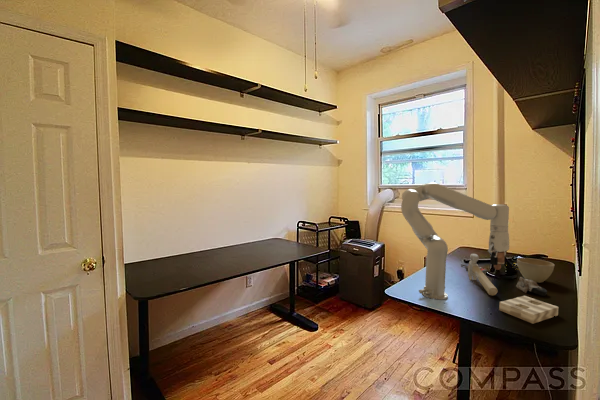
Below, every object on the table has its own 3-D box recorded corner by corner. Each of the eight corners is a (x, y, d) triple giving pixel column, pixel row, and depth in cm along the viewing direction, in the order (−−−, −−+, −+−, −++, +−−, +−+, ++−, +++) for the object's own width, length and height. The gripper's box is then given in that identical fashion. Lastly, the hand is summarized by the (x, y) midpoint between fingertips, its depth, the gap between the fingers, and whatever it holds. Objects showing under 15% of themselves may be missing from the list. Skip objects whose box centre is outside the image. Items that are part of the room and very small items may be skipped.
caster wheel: (547, 300, 155) (532, 298, 153) (529, 288, 165) (515, 286, 164) (552, 289, 153) (537, 287, 151) (534, 278, 164) (519, 276, 162)
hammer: (500, 279, 150) (477, 253, 178) (490, 279, 151) (469, 253, 179) (495, 305, 155) (473, 275, 183) (485, 304, 155) (465, 275, 184)
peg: (499, 271, 141) (500, 253, 141) (488, 268, 146) (489, 251, 146) (506, 269, 144) (507, 252, 143) (495, 267, 149) (495, 250, 148)
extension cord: (527, 267, 208) (527, 264, 208) (522, 271, 198) (523, 268, 197) (507, 263, 217) (507, 261, 217) (502, 267, 207) (502, 264, 207)
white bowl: (549, 287, 166) (551, 267, 165) (512, 279, 180) (513, 260, 179) (555, 281, 177) (557, 262, 176) (520, 273, 191) (521, 256, 190)
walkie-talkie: (491, 274, 191) (461, 266, 208) (491, 267, 191) (461, 260, 208) (484, 276, 187) (454, 268, 204) (485, 269, 186) (455, 262, 203)
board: (532, 323, 123) (533, 314, 123) (499, 310, 136) (499, 302, 135) (557, 315, 131) (558, 306, 131) (523, 303, 144) (524, 295, 143)
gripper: (496, 231, 137) (494, 267, 138) (517, 228, 144) (515, 263, 145) (480, 228, 144) (479, 263, 145) (501, 226, 151) (500, 260, 152)
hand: (497, 263), depth 145 cm, fingers closed on peg, 5 cm apart
